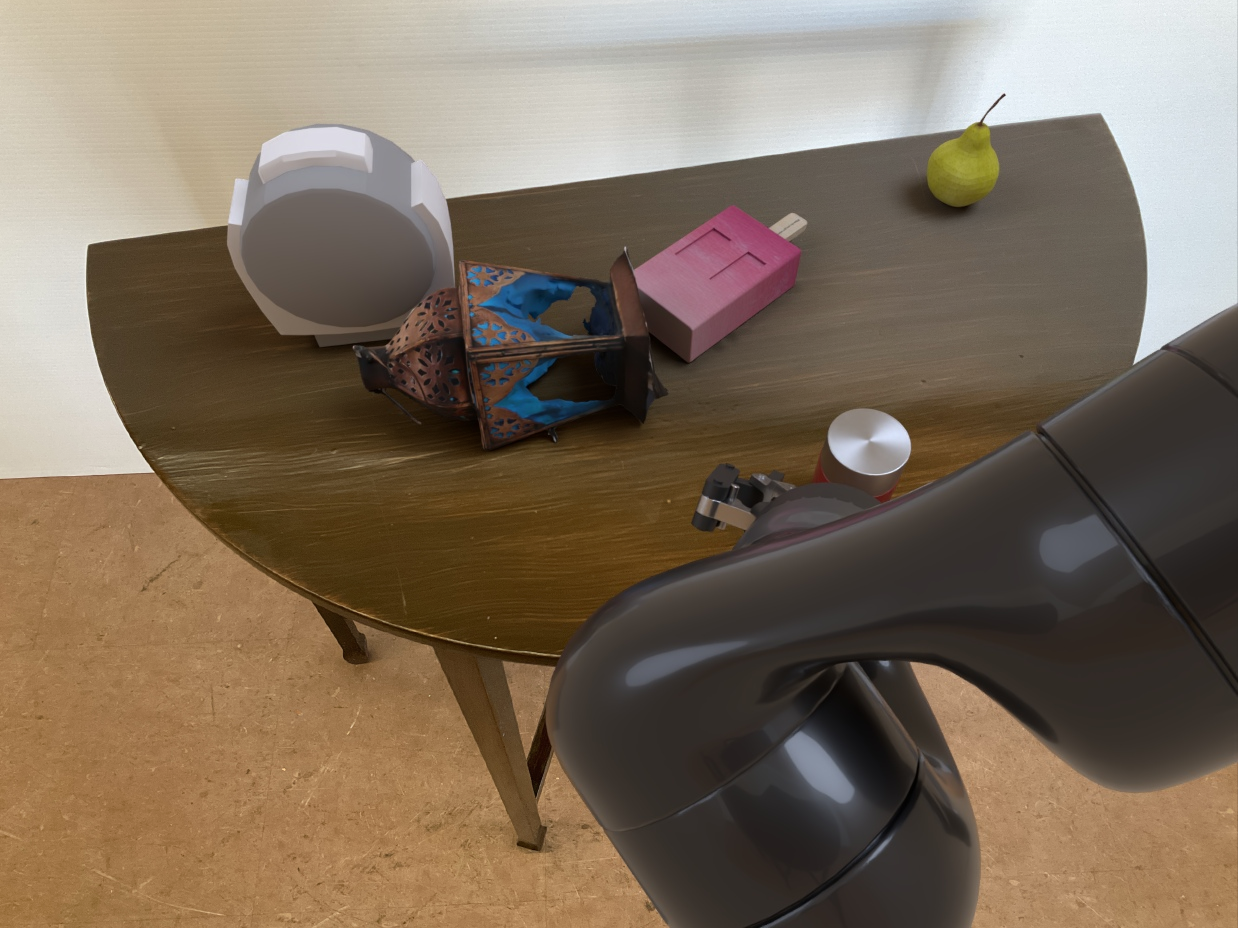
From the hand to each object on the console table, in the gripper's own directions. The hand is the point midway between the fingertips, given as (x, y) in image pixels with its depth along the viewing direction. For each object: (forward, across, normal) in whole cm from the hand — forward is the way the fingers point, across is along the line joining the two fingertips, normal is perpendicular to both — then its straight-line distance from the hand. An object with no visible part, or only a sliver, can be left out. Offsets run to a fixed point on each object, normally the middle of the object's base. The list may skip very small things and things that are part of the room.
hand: (841, 513), depth 51 cm
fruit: (+50, +1, -26) cm, 56 cm away
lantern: (+20, +30, +4) cm, 37 cm away
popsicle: (+35, +18, -10) cm, 40 cm away
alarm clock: (+22, +47, +3) cm, 52 cm away
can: (+20, 0, +4) cm, 20 cm away
